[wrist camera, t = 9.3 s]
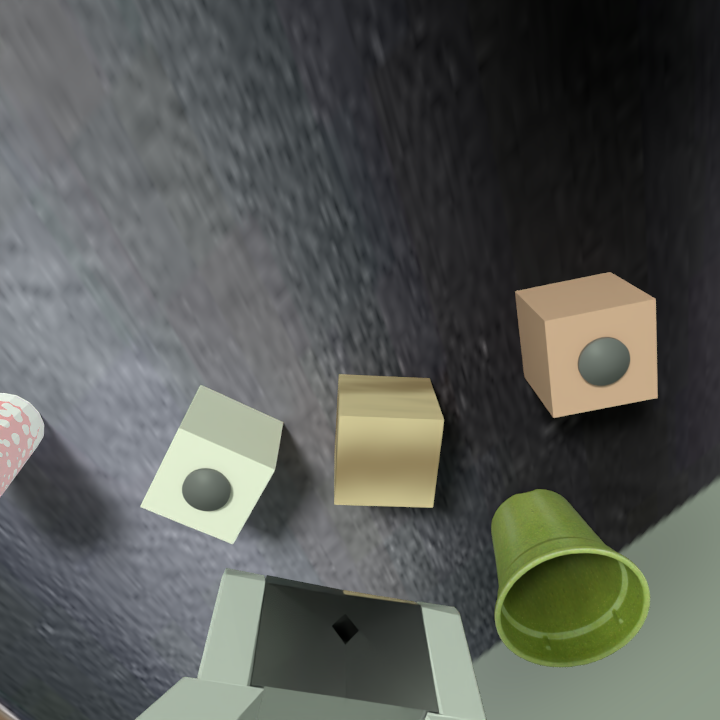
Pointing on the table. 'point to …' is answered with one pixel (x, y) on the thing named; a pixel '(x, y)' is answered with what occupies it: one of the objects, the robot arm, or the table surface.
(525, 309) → the dot block tan
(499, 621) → the plant pot
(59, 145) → the table surface
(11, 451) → the beverage cup
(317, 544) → the table surface
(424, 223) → the table surface
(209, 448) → the dot block cream
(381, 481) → the oak block
